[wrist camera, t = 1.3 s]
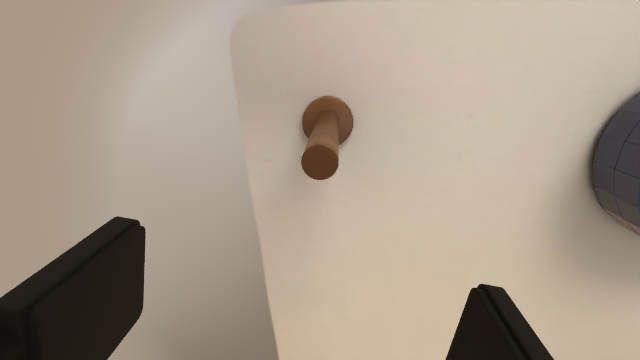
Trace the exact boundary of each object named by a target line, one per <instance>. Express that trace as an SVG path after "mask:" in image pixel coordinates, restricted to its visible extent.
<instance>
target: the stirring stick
mask: <svg viewBox="0 0 640 360" xmlns="http://www.w3.org/2000/svg"><path fill="white" fill-rule="evenodd" d="M352 128H353V116H352V113H351V110H350V109H349V107H348V106H347V104H346V103H345V102H343V101H342V100H340V99H339V98H336V97H332V96H324V97H320V98H318V99H316V100H314V101H313V102H311V103H310V104H309V106H308V107H307V108H306V110H305V112H304V115H303V129H304V132H305V134H306V136H307V137H308V138H309V140H308V143H307V145H306V148H305V151H304V153H303V156H302V160H301V164H302V168H303V170H304V172H305V173H306V174H307V175H308V176H309V177H311V178H313V179H316V180H324V179H327V178H329V177H331V176H332V175H333V174H334V173H335V172H336V170H337V168H338V159H339V145H340V144H341V143H343V142H344V141H345V140H346V139H347V138H348V137H349V135H350V133H351V131H352Z"/></svg>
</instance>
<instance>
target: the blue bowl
mask: <svg viewBox="0 0 640 360" xmlns="http://www.w3.org/2000/svg"><path fill="white" fill-rule="evenodd" d="M593 160H594V161H593V186H594V189H595V192H596V194H597V197H598V199H599V202H600V204H601V206H602V207H603V208H604V209H605V210H606V211H607V212H608V213H609V214H610V215H611V216H612V217H613V218H614V219H615V220H616V221H617V222H618V223H620V224H621V225H623V226H625V227H627V228H628V229H630V230H632V231H633V232H635V233H637V234H638V235H640V92H639V93H638V94H637V95H636V96H635V97H633V98H632V99H631V100H630V101H629V102H627V103H626V104H625V105H624V106H623V107H622V108H620V109H619V111H618V112H617V113H616V115H615V116H614V118H613V119H612V121H611V122H610V123H609V125H608V126H607V128H606V129H605V130H604V132H603V133H602V135H601V138H600V141H599V144H598V147H597V150H596V153H595V156H594V158H593Z"/></svg>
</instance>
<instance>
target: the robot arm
mask: <svg viewBox="0 0 640 360" xmlns="http://www.w3.org/2000/svg"><path fill="white" fill-rule="evenodd" d="M144 262H145V228H144V227H143V226H140V222H139V221H138V220H134V219H128V218H123V217H115V218H113V219H111V220H110V221H109V222H107V223H106V224H104V225H103V226H102V227H100V228H99V229H97V230H96V231H94V232H93V233H92V234H90V235H89V236H87V237H86V238H84V239H83V240H82V241H80V242H79V243H78V244H76V245H75V246H74V247H72V248H70V249H69V250H68V251H66V252H65V253H63V254H62V255H60V256H59V257H58V258H56V259H55V260H53V261H52V262H50V263H49V264H48V265H46V266H45V267H44V268H42V269H41V270H39V271H38V272H37V273H35V274H33V275H32V276H31V277H29V278H28V279H27V280H25V281H24V282H22V283H21V284H19V285H18V286H16V287H15V288H14V289H12V290H11V291H10V292H8V293H7V294H5V295H4V296H2V297H1V298H0V360H107V359H108V358H109V357H110V355H111V354H112V353H113V351H114V350H115V349H116V347H117V346H118V345H119V344H120V342H121V341H122V340H123V338H124V337H125V336H126V335H127V333H128V332H129V331H130V329H131V328H132V327H133V325H134V324H135V323H136V322H137V320H138V319H139V317H140V315H141V313H142V309H143V293H144ZM446 360H554V359H553V358H552V356H551V355H550V353H549V352H548V351H547V349H546V348H545V346H544V345H543V344H542V342H541V341H540V339H539V338H538V336H537V335H536V334H535V332H534V331H533V329H532V328H531V327H530V325H529V324H528V322H527V321H526V320H525V318H524V317H523V315H522V314H521V312H520V311H519V310H518V308H517V307H516V305H515V304H514V303H513V301H512V300H511V298H510V297H509V295H508V294H507V293H506V291H505V290H504V289H503V288H501V287H496V286H491V285H485V284H480V285H479V286H478V287H477V288H472V289H471V291H470V293H469V296H468V299H467V302H466V305H465V307H464V310H463V313H462V316H461V318H460V321H459V324H458V327H457V330H456V332H455V335H454V338H453V341H452V343H451V346H450V349H449V352H448V355H447V357H446Z"/></svg>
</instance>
